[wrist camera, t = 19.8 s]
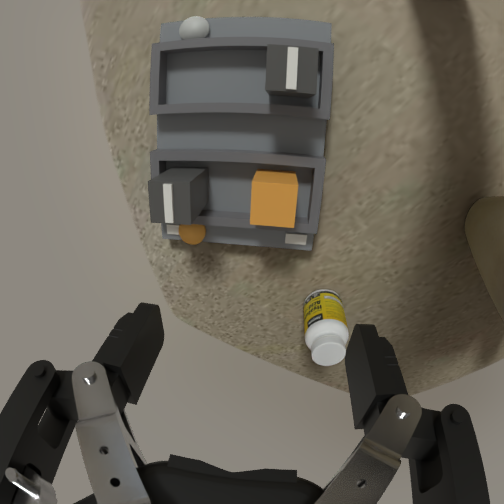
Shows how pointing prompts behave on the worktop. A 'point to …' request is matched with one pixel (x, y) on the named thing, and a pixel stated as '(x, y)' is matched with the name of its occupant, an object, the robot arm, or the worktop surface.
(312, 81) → the knob
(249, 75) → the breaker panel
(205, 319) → the worktop surface
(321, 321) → the supplement bottle
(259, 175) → the block
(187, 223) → the knob tagged
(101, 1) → the worktop surface
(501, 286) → the plant pot
